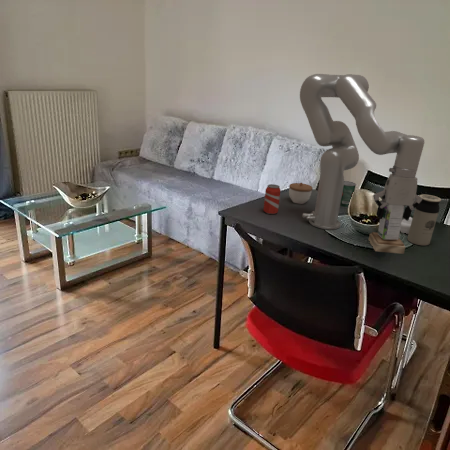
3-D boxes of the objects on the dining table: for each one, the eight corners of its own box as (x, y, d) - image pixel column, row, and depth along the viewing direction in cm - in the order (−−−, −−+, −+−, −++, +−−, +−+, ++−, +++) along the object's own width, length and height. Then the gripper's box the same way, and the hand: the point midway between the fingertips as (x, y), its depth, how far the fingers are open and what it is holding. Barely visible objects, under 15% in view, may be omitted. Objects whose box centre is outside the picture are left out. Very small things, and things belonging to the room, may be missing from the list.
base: (375, 252, 143) (377, 242, 142) (368, 241, 152) (370, 231, 151) (403, 255, 143) (406, 244, 141) (394, 243, 152) (397, 233, 150)
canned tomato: (331, 203, 191) (335, 181, 187) (343, 201, 195) (348, 180, 190) (342, 208, 185) (346, 186, 181) (355, 207, 188) (359, 184, 184)
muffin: (397, 233, 160) (401, 217, 157) (396, 228, 165) (400, 212, 163) (413, 236, 158) (418, 220, 156) (412, 231, 164) (417, 215, 161)
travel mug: (403, 236, 157) (414, 193, 150) (424, 238, 157) (435, 194, 150) (412, 245, 150) (424, 200, 143) (433, 246, 150) (446, 201, 143)
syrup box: (376, 234, 148) (382, 196, 144) (392, 234, 149) (398, 197, 144) (383, 240, 143) (389, 201, 138) (399, 240, 143) (405, 201, 139)
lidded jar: (313, 205, 187) (316, 186, 183) (292, 205, 184) (294, 186, 181) (304, 198, 196) (307, 179, 193) (284, 198, 194) (286, 179, 190)
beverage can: (280, 213, 173) (284, 187, 169) (269, 215, 170) (272, 188, 165) (271, 209, 178) (274, 183, 173) (260, 211, 174) (263, 184, 170)
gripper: (384, 173, 133) (372, 221, 139) (434, 176, 134) (420, 223, 140) (375, 167, 140) (365, 213, 146) (423, 171, 141) (410, 216, 147)
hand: (392, 218), depth 143 cm, fingers open, 9 cm apart
